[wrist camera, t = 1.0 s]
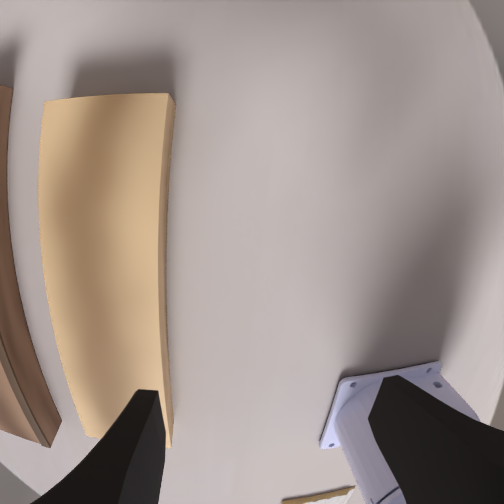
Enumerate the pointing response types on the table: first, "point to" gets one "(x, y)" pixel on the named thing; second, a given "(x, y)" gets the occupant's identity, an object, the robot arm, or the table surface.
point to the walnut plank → (18, 332)
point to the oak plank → (107, 248)
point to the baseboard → (324, 498)
